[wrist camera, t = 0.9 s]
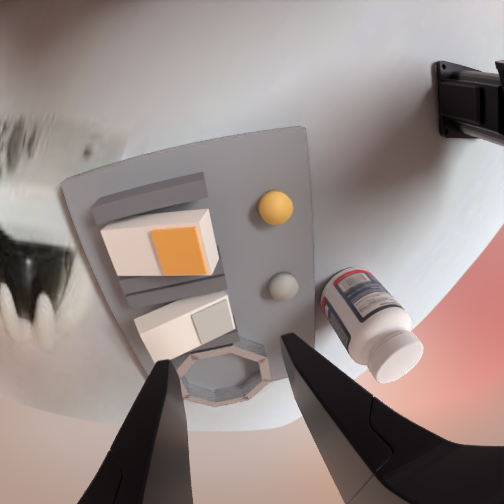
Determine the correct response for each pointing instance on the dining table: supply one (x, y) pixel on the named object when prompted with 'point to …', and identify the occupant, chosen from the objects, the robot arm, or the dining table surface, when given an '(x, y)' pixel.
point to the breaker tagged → (162, 244)
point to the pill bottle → (371, 324)
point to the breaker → (185, 324)
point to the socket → (228, 394)
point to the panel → (226, 237)
